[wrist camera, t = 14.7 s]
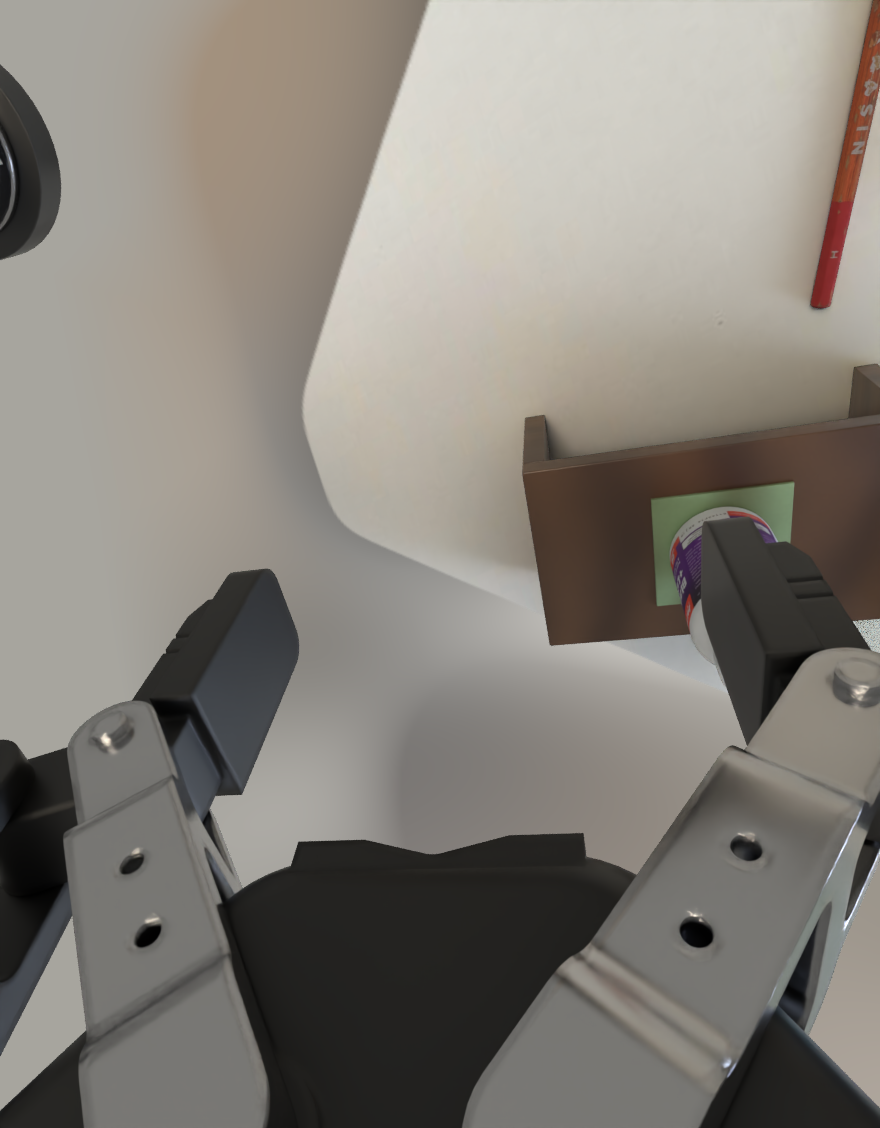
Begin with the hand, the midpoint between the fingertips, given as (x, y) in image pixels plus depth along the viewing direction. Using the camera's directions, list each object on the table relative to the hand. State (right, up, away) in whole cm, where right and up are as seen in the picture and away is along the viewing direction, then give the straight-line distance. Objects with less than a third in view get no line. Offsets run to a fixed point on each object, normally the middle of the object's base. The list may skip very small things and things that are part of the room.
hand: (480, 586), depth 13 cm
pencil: (+19, +23, +20) cm, 36 cm away
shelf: (+16, +6, +31) cm, 35 cm away
